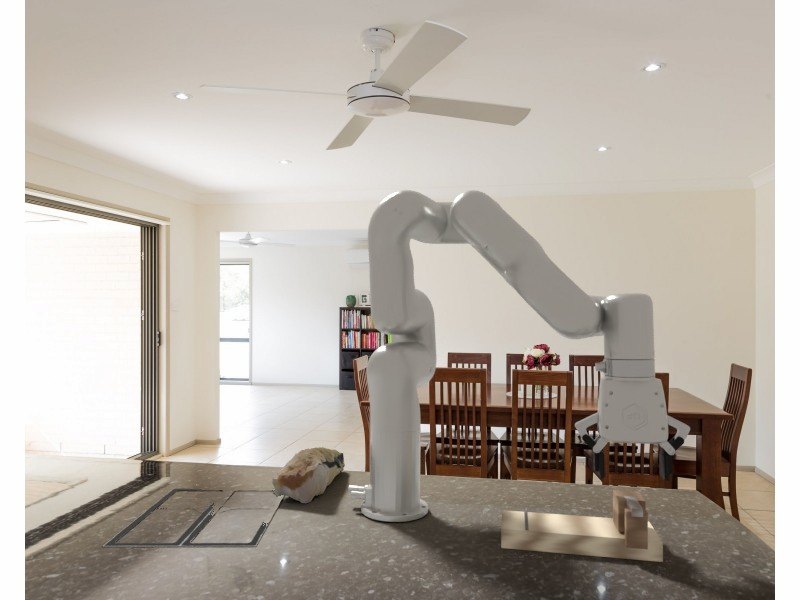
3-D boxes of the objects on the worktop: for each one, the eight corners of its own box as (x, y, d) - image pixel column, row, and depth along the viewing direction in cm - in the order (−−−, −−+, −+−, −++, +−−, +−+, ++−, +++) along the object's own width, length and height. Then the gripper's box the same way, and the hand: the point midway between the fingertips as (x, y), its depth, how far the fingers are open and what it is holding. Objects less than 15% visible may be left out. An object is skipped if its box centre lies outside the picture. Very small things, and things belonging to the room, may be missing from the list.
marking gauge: (623, 548, 85) (623, 507, 85) (612, 526, 94) (612, 489, 94) (651, 550, 84) (651, 509, 84) (638, 528, 93) (638, 491, 93)
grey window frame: (173, 491, 119) (102, 550, 89) (173, 488, 119) (102, 546, 89) (288, 491, 120) (256, 549, 90) (288, 488, 120) (256, 545, 90)
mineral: (319, 432, 137) (359, 441, 135) (312, 471, 137) (351, 480, 135) (275, 450, 111) (323, 461, 109) (266, 497, 111) (314, 509, 109)
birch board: (501, 547, 90) (501, 528, 91) (502, 527, 99) (502, 509, 99) (662, 561, 86) (662, 541, 86) (648, 539, 95) (648, 520, 95)
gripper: (576, 371, 90) (579, 481, 89) (694, 372, 86) (698, 486, 86) (571, 368, 97) (573, 469, 96) (680, 368, 94) (683, 473, 93)
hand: (632, 477), depth 91 cm, fingers open, 9 cm apart
